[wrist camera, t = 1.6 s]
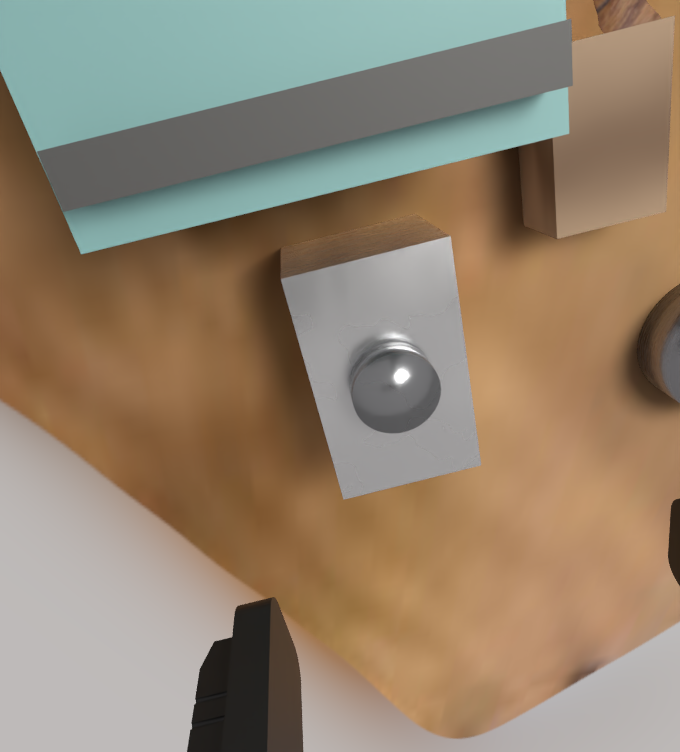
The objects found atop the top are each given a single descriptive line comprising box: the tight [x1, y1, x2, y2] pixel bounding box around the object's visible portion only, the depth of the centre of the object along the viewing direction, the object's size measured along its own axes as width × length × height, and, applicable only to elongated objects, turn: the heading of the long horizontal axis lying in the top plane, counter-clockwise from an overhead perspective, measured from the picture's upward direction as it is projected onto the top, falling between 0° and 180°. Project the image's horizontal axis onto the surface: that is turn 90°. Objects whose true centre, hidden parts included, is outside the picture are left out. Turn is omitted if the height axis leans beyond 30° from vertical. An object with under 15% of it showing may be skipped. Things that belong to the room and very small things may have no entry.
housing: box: [281, 214, 481, 499], centre depth 20 cm, size 9×6×6 cm, turn 13°
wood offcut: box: [518, 16, 675, 239], centre depth 19 cm, size 6×4×3 cm, turn 13°
